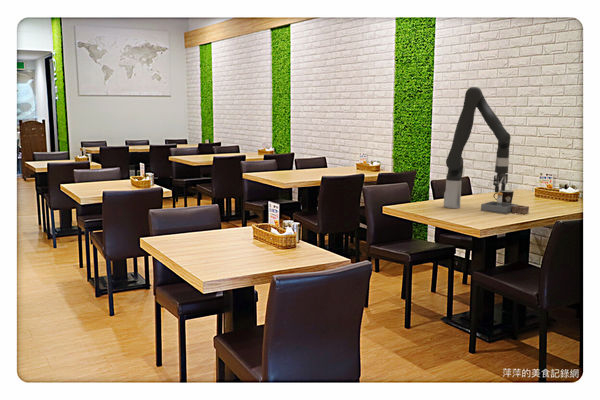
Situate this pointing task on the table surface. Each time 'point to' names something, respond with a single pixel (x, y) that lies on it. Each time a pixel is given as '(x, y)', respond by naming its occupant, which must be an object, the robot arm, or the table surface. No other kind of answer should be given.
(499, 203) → the stop pin
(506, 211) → the tray
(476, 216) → the table surface
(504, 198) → the coffee mug
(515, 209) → the pin block
